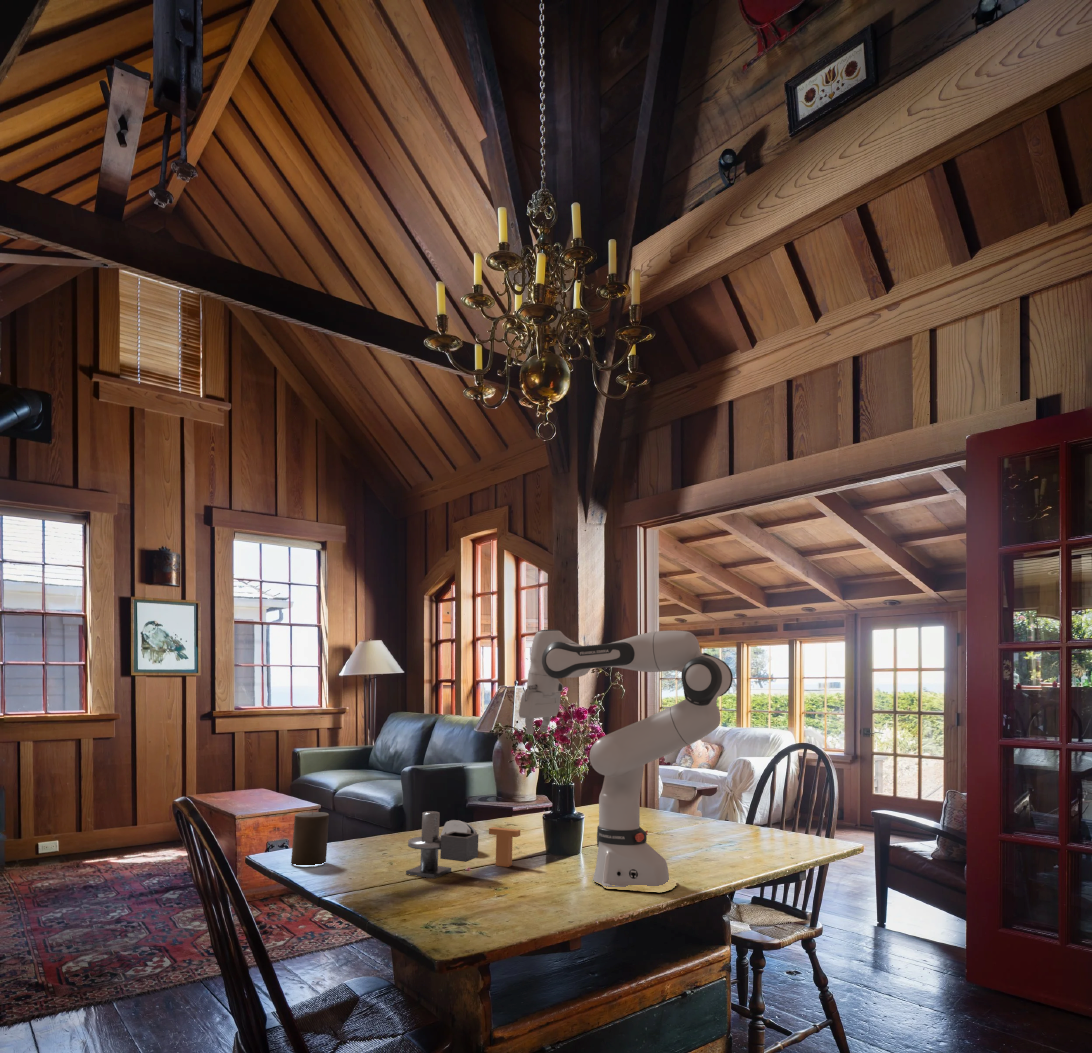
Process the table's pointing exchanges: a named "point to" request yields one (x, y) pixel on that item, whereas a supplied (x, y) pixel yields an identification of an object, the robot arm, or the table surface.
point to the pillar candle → (310, 838)
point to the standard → (441, 847)
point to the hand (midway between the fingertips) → (536, 733)
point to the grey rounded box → (457, 827)
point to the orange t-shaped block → (504, 844)
